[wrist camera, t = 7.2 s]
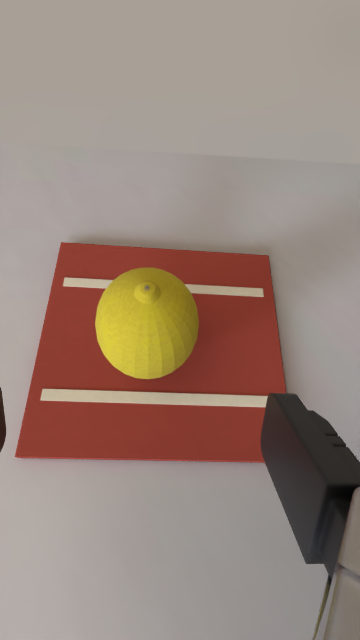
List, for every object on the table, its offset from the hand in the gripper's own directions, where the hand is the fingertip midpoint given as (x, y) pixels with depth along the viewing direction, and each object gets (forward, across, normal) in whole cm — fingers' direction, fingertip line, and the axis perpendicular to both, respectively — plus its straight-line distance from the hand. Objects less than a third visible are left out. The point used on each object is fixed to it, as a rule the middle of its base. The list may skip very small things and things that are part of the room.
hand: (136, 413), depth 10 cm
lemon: (+11, 0, +3) cm, 12 cm away
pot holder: (+12, -1, +3) cm, 13 cm away
